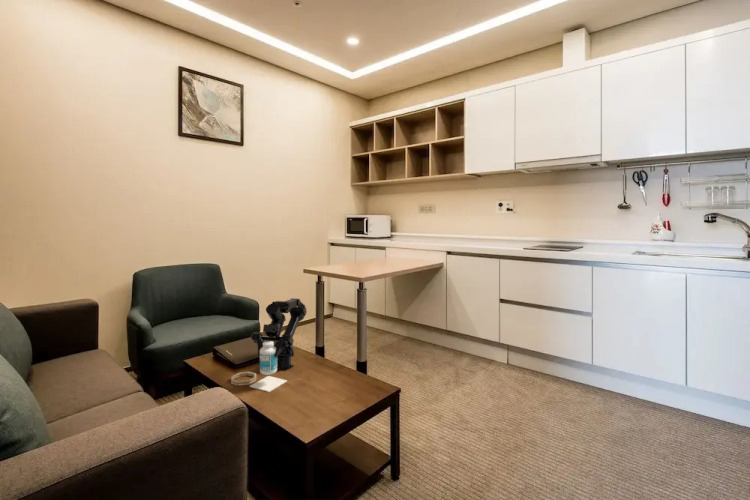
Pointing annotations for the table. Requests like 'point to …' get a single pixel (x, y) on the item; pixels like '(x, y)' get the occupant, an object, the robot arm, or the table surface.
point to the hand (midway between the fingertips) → (267, 356)
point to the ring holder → (243, 381)
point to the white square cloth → (268, 383)
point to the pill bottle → (268, 358)
